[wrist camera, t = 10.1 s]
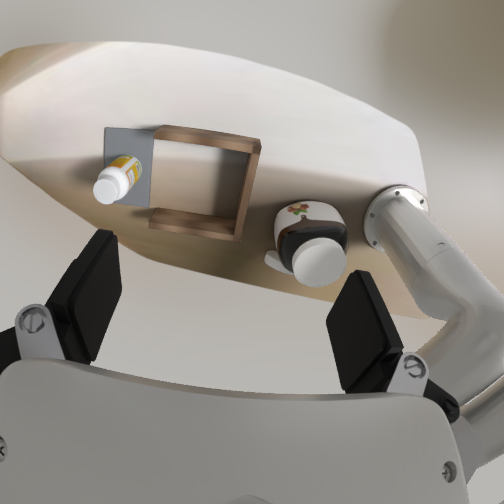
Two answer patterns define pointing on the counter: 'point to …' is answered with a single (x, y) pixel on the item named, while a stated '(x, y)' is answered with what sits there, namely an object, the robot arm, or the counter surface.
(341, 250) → the spread jar
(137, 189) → the slate mat
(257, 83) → the counter surface
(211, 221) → the open front box
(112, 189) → the supplement bottle
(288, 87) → the counter surface
